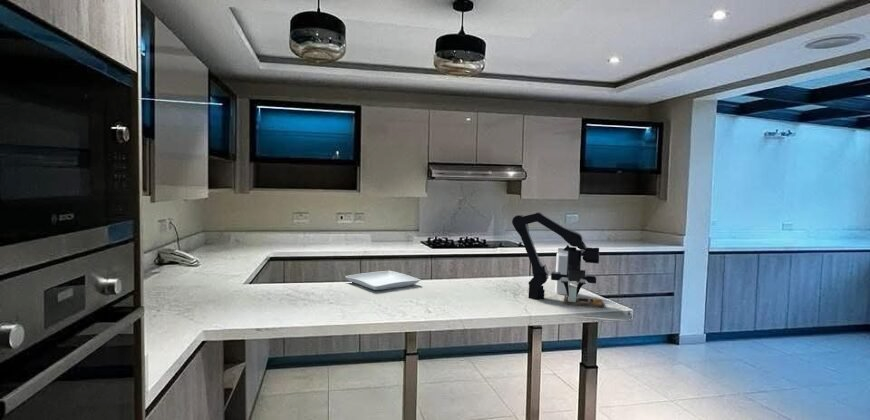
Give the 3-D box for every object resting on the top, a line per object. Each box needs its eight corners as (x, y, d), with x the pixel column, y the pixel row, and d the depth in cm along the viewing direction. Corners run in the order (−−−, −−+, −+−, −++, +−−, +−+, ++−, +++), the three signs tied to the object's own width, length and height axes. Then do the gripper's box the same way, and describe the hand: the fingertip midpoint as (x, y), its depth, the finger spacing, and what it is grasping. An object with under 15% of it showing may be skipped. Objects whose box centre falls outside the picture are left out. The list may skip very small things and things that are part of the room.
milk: (554, 292, 230) (556, 247, 228) (567, 293, 229) (569, 247, 228) (556, 295, 224) (558, 248, 222) (569, 296, 223) (572, 249, 222)
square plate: (389, 276, 254) (389, 269, 253) (421, 286, 233) (421, 279, 233) (344, 282, 236) (344, 274, 236) (374, 293, 215) (374, 285, 215)
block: (568, 303, 207) (569, 287, 206) (567, 299, 212) (568, 284, 212) (575, 303, 206) (576, 287, 205) (574, 300, 212) (575, 284, 211)
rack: (564, 306, 205) (565, 297, 204) (563, 300, 215) (564, 291, 215) (604, 310, 201) (605, 300, 201) (601, 303, 212) (602, 294, 211)
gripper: (552, 262, 202) (550, 299, 203) (598, 266, 198) (596, 303, 199) (551, 258, 213) (549, 293, 214) (595, 262, 209) (593, 297, 210)
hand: (572, 296), depth 209 cm, fingers closed on block, 3 cm apart
